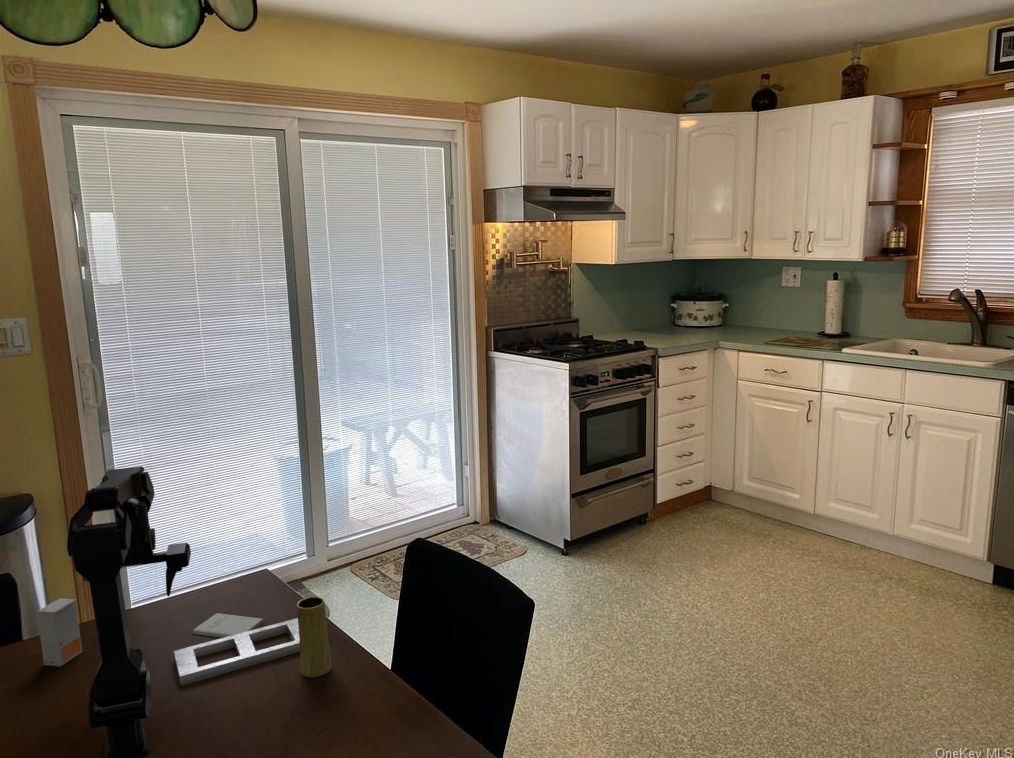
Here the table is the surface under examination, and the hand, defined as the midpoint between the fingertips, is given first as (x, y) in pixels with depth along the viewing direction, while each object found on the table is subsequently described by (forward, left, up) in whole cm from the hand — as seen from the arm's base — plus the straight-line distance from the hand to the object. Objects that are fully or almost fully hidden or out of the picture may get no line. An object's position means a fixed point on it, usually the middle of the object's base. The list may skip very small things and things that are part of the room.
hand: (143, 599), depth 148 cm
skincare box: (+13, +16, -14) cm, 25 cm away
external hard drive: (+7, -16, -15) cm, 23 cm away
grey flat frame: (-6, -17, -14) cm, 23 cm away
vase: (-20, -28, -14) cm, 38 cm away
